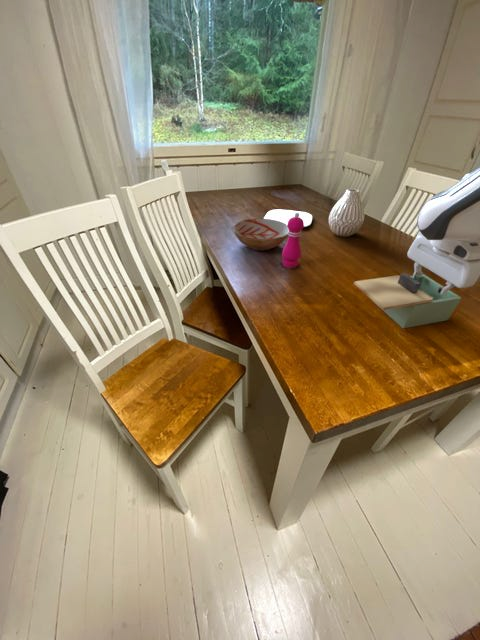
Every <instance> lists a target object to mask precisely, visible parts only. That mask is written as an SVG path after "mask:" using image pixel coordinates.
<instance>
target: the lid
mask: <svg viewBox="0 0 480 640" xmlns="http://www.w3.org/2000/svg"><path fill="white" fill-rule="evenodd" d="M410 276H411V275H409V274H408V273H405V272H404V273H400V275H392V276H391V275H390V276H384V277H376V278H370V279H361V280H356V281H353V285H354V286H356V288H358V289H359V290H360V291H361V292H362V293H363V294H365V295H366V296H367V297H368V298H369V299H370V300H371V301H372V302H373V301H374V302H375V303H376V304H377V305H378V306H379V307H378V306H377V305H376V304H375V303H374V302H373V303H374V304H375V305H376V306H377V307H378V308H379V309H381V308H382V309H383V310H386V309H392V308H398V307H403V306H409V305H415V304H421V303H427V302H432V301H433V299H432V298H430V297H429V296H428V295H426V294H425V293H423V292H422V291H420V290H419V287H420V285H421V283H419V282H418V281H416V280H415V279H413V278H412V277H410ZM382 309H381V310H382ZM383 310H382V311H383Z"/></svg>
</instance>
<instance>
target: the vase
mask: <svg viewBox="0 0 480 640" xmlns="http://www.w3.org/2000/svg"><path fill="white" fill-rule="evenodd" d="M364 221H365V208H364V204H363V202H362V199H361V192H360V190H359V189H356V188H347V189H346V190H345V193H344V194H343V196H342V197H341V198H340V199H338V200H337V202H336V203H335V204H334V205H333V207H332V208H331V210H330V213H329V215H328V227H329V229H330V231H331V232H332V233H333V234H334V236H335V235H336V236H337V237H343V238H347V237H351V236H353V235H355V234H356V233H357V232H359V230H361V228H362V226H363V224H364Z"/></svg>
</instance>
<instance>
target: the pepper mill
mask: <svg viewBox="0 0 480 640" xmlns="http://www.w3.org/2000/svg"><path fill="white" fill-rule="evenodd" d="M287 227H288V229H289V230H288V233H287V234H288V236H287V237H288V238H287V241H286V244H285V245H284V247H283V249H282V252H281V255H282V257H283V258H282V263H281V264H282V265H283V266H284V267H286V268H296V267H298V266H299V261H300V260H299V259H300V258H301V256H302V249H301V246H300V245H301V244H300V237H301V236H302V230H303V229H304V228H305V227H304V221H303V219H302V218H300V217H299V213H295V214H294V217H292V218H290V219H289V220H288V223H287Z"/></svg>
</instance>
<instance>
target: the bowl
mask: <svg viewBox="0 0 480 640" xmlns="http://www.w3.org/2000/svg"><path fill="white" fill-rule="evenodd" d="M288 230H289V229H288V227H287V224H285V223H283V222H280V221H277V220H272V219H264V217H263V218H262V217H261V218H260V217H258V218H257V217H256V218H248V219H247V218H246V219H243V220H240V221H239V220H238V221H237V222H236V223H234V224H233V225H232V231H233V233H234V235H235V237H236V238H237V240H238V241H239V242H240V243H241V244H243V245H244V246H246V247H248V248H249V249H252V250H254V251H262V252H263V251H268V250H271V249H273V248H276V247H278V246H279V245H281V244H282V243H284V241H285V240H286V239H287V237H288V234H287V233H288Z"/></svg>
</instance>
